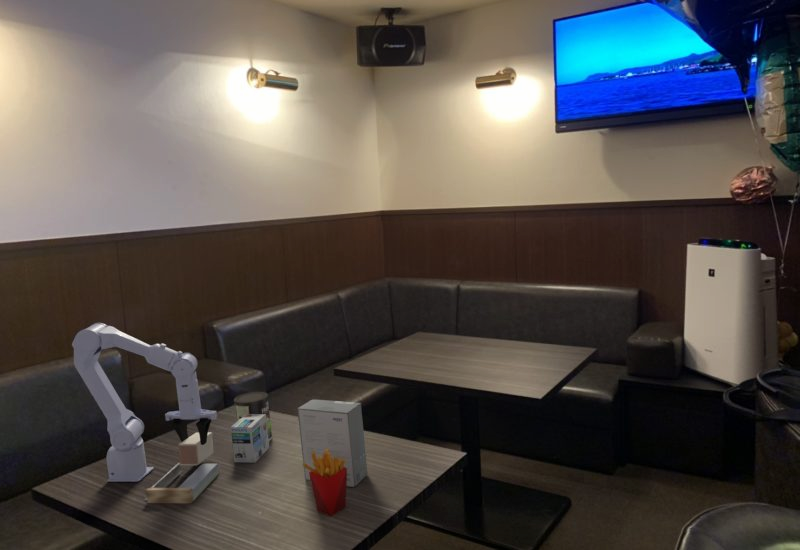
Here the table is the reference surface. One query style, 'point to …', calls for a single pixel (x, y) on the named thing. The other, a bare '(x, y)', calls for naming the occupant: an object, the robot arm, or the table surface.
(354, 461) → the hard drive box
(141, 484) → the table surface
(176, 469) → the grey panel
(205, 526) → the table surface
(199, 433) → the robot arm
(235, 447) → the light bulb box
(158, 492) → the shelf rail
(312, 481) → the french fries
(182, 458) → the cream rectangular block
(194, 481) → the two-layer flat tile
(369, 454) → the table surface
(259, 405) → the coffee can
